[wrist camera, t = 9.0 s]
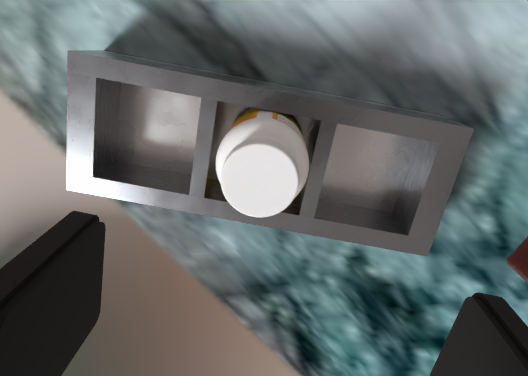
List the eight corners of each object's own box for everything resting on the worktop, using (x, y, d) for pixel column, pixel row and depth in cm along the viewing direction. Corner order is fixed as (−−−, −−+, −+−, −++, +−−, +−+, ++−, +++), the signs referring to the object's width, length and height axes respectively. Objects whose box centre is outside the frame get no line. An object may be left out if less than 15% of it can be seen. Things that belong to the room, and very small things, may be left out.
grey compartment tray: (103, 50, 28) (67, 50, 23) (442, 115, 29) (474, 128, 24) (98, 168, 31) (66, 189, 26) (405, 225, 32) (427, 256, 27)
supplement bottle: (229, 172, 30) (205, 227, 21) (230, 100, 28) (205, 125, 19) (300, 177, 30) (308, 234, 20) (306, 104, 28) (318, 132, 19)
